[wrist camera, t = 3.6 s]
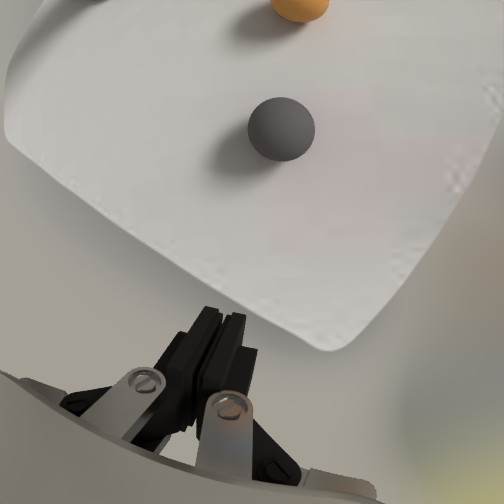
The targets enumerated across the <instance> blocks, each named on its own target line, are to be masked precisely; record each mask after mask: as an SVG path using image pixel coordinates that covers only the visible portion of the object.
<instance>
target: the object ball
mask: <svg viewBox="0 0 504 504" xmlns="http://www.w3.org/2000/svg"><path fill="white" fill-rule="evenodd" d="M270 3H271V6H272V7H273V9H274V10H275V11H276V12H277V13H278V14H279V15H280V16H282V17H283V18H285V19H287V20H290V21H293V22H310V21H313V20H316V19H318V18H319V17H321V16H322V15H323V14H324V13H325V12H326V10H327V8H328V5H329V0H270Z"/></svg>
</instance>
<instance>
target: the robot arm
mask: <svg viewBox="0 0 504 504" xmlns="http://www.w3.org/2000/svg"><path fill="white" fill-rule="evenodd" d="M222 320H223V314H222V313H219V309H216V308H212V307H208V306H205V307H204V308H203V310H202V311H201V313H200V314H199V316H198V318H197V319H196V321H195V322H194V324H193V325H192V327H191V328H190V330H189V331H188V333H186V332H182V331H180V332H178V333H177V335H176V336H175V337H174V339H173V340H172V342H171V343H170V345H169V346H168V347H167V349H166V350H165V352H164V353H163V355H162V356H161V357H160V359H159V360H158V362H157V363H156V365H155V366H154V367H153V368H150V367H138V368H135V369H132V370H131V371H130V372H128V373H127V374H126V375H125V376H124V377H122V378H121V379H120V380H119V381H118V382H117V383H116V384H115V385H114V386H110V387H104V388H99V389H93V390H87V391H80V392H74V393H71V394H69V395H68V394H67V393H66V391H63V390H60V389H58V388H55V387H51V386H49V385H46V384H43V383H41V382H38V381H35V380H33V379H30V378H21V379H17V378H16V377H14V376H12V375H10V374H8V373H6V372H3V371H1V370H0V504H384V503H382V502H380V501H377V500H376V497H377V493H376V489H375V487H374V486H373V485H372V484H371V483H370V482H368V481H365V480H362V479H357V478H352V477H347V476H342V475H337V474H333V473H329V472H324V471H321V470H317V469H313V468H311V469H310V470H307V469H304V468H300V467H299V465H298V464H297V463H296V462H295V461H294V460H293V459H292V458H291V457H290V456H289V455H288V454H287V453H286V452H285V451H284V450H283V449H282V448H281V447H280V446H279V445H278V444H277V443H276V442H275V441H274V440H273V439H272V438H271V437H270V436H269V435H268V434H267V433H266V432H265V431H264V430H263V429H262V428H261V427H260V425H259V424H258V423H257V422H256V421H255V420H254V419H253V406H252V403H251V401H250V400H249V399H248V398H247V395H248V391H249V387H250V384H251V379H252V375H253V371H254V366H255V361H256V356H257V351H258V349H254V348H249V347H244V346H242V341H243V335H244V328H245V322H246V315H245V314H240V313H235V312H233V313H232V315H227V316H226V318H225V320H224V322H223V324H222ZM195 419H196V424H197V425H196V429H197V430H196V431H197V432H196V437H197V439H198V440H199V447H198V453H197V458H196V464H195V467H194V466H191V465H188V464H185V463H181V462H178V461H175V460H172V459H169V458H166V457H164V456H161V455H159V454H160V452H161V451H162V450H163V448H164V447H165V445H166V444H167V443H168V441H169V440H170V437H171V434H173V433H177V432H179V431H182V432H185V431H186V428H187V426H191V427H192V426H193V424H194V422H195Z"/></svg>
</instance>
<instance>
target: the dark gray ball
mask: <svg viewBox="0 0 504 504" xmlns="http://www.w3.org/2000/svg"><path fill="white" fill-rule="evenodd" d="M248 134H249V138H250V141H251V143H252V145H253V146H254V148H255V149H256V150H257V151H258V152H259V153H260V154H261V155H263V156H264V157H266V158H268V159H271V160H275V161H290V160H293V159H296V158H298V157H300V156H301V155H303V154H304V153H305V152H306V151H307V150H308V149H309V147H310V146H311V144H312V142H313V139H314V134H315V126H314V121H313V118H312V116H311V114H310V113H309V111H308V110H307V109H306V108H305V107H304V106H303V105H302V104H300V103H299V102H297V101H295V100H292V99H289V98H283V97H278V98H272V99H269V100H266V101H264V102H263V103H261V104H260V105H259V106H258V107H256V109H255V110H254V111H253V113H252V114H251V117H250V119H249V123H248Z"/></svg>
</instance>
